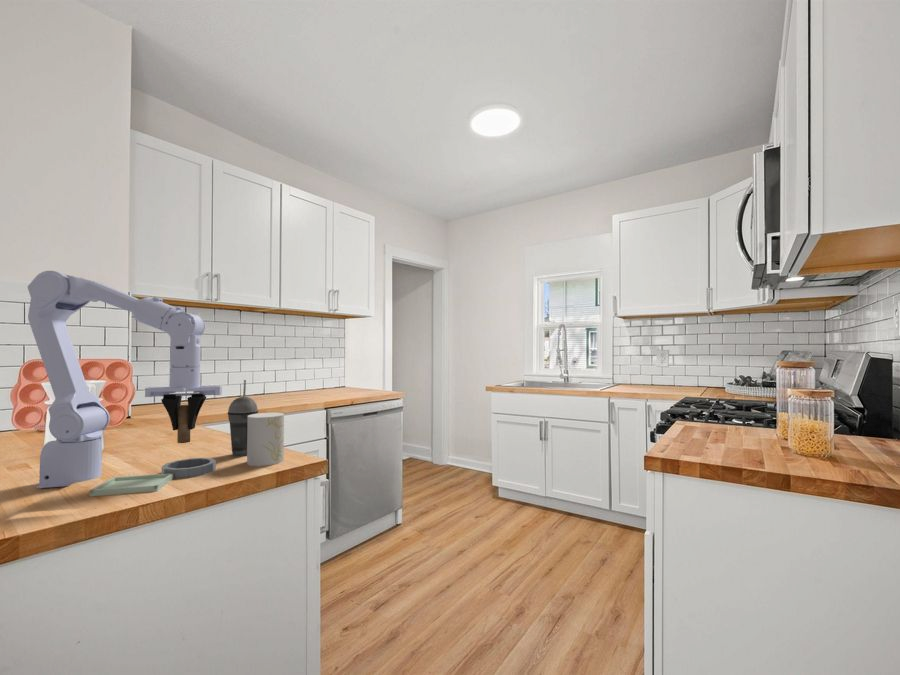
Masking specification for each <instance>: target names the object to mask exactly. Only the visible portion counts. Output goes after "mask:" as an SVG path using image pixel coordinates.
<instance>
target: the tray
mask: <svg viewBox="0 0 900 675" xmlns="http://www.w3.org/2000/svg"><path fill="white" fill-rule="evenodd" d="M173 480H174V473H167V474H161V473H155V474H154V473H153V474H141V475H138V474H137V475H125V476H113V477H112V478H110V479H108V480H106V481H104V482H103V483H101V484H99V485H97V486H95V487H93V488H92V489H90V490H89V497H97V496H98V497H99V496H110V495H111V496H112V495H124V494H137V493H149V492H151V493H152V492H159V491H160V490H162V488H164V487H165V486H167V484H168V483H170V482H171V481H173Z"/></svg>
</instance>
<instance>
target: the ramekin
mask: <svg viewBox="0 0 900 675" xmlns="http://www.w3.org/2000/svg"><path fill="white" fill-rule="evenodd" d="M216 469H217V460H216V459H214V458H211V457H195V458H194V457H193V458H183V459H180V460H179V459H177V460H174V461H170V462H166V463H165V464H163V465H161V473H160V474H167V473H174V479H175V480H176V479H186V478H187V479H189V478H195V477H200V476H205V475H208V474H210V473H213V472H214V471H215V470H216ZM174 479H173V480H174Z"/></svg>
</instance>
